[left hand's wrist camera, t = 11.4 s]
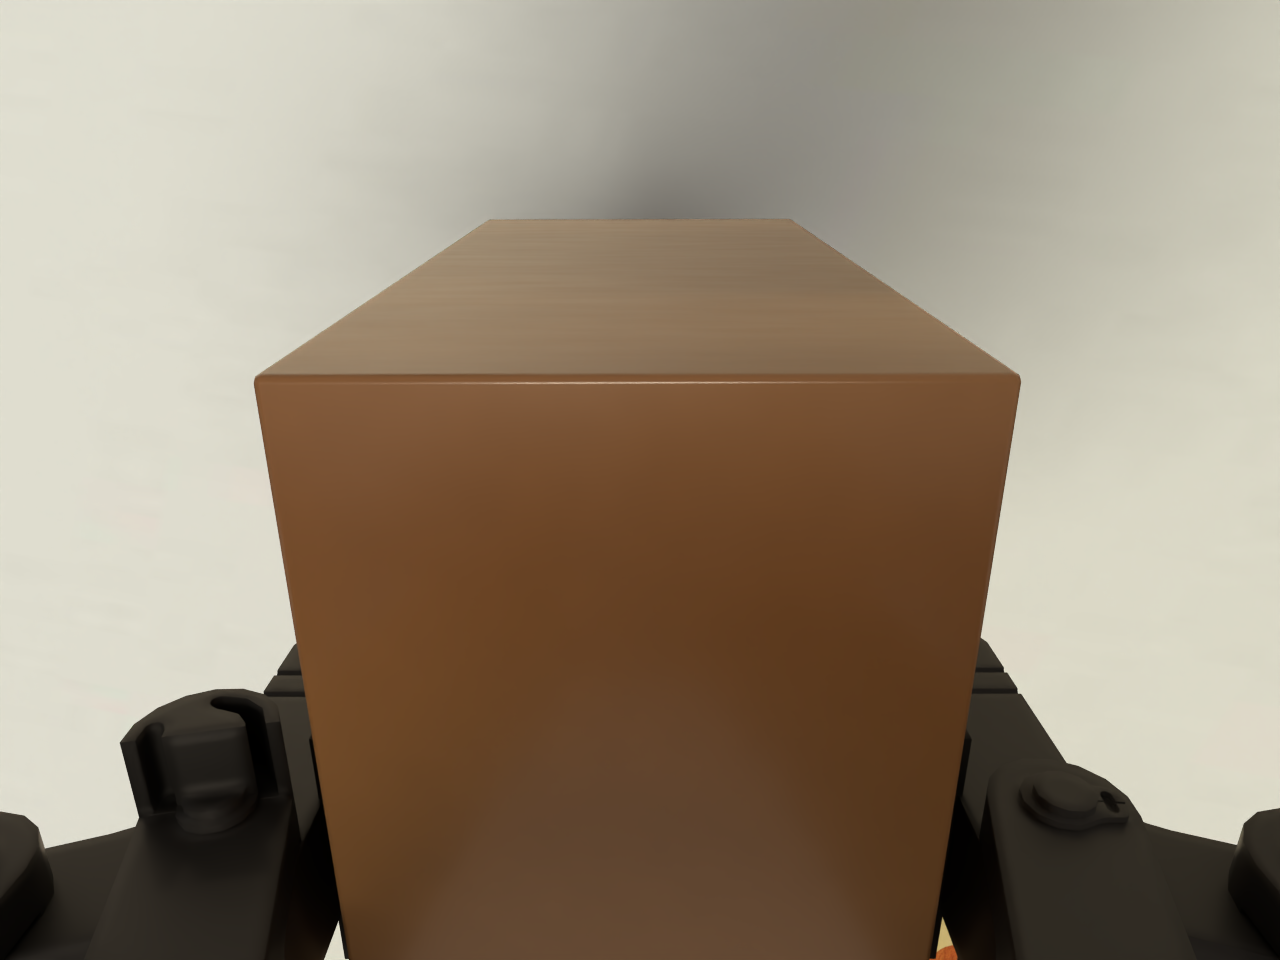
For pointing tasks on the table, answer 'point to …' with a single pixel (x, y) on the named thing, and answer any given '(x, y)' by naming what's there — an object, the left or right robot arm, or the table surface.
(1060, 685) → the table surface
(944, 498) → the beam
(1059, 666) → the table surface
